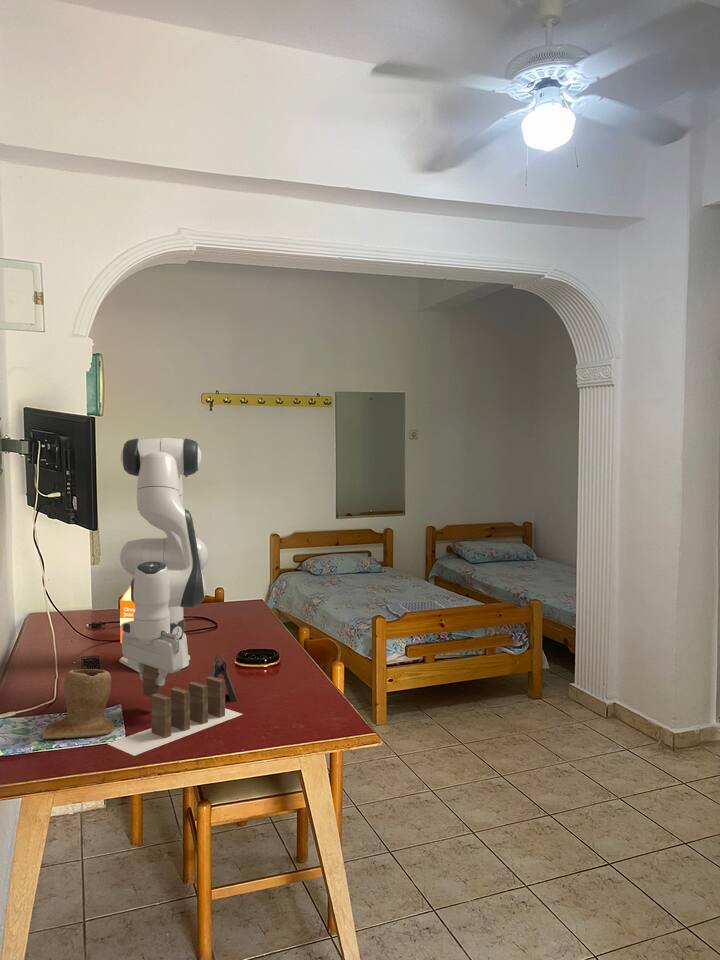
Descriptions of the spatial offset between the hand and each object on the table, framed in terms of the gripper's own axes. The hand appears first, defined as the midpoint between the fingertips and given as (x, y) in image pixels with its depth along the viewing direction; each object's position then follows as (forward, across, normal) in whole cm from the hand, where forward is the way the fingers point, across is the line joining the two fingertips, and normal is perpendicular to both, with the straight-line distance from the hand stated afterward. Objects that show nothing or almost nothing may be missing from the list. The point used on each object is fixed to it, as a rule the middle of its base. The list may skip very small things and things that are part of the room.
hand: (152, 682), depth 191 cm
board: (+8, -14, +3) cm, 17 cm away
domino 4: (+7, -14, -3) cm, 16 cm away
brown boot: (+8, +2, +18) cm, 20 cm away
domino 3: (+7, -14, +3) cm, 16 cm away
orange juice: (+10, +62, -40) cm, 74 cm away
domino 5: (+7, -14, -8) cm, 18 cm away
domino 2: (+7, -14, +8) cm, 18 cm away
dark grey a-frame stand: (+9, -6, -16) cm, 20 cm away
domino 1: (+4, 0, 0) cm, 4 cm away
